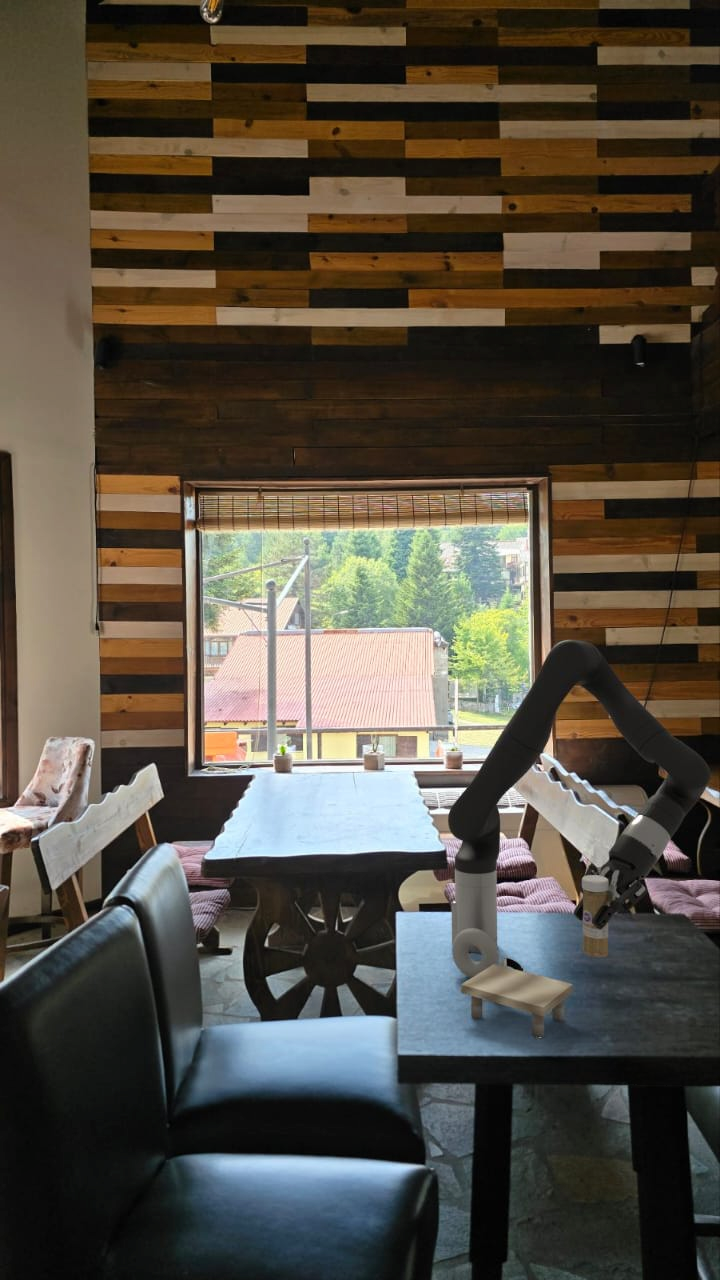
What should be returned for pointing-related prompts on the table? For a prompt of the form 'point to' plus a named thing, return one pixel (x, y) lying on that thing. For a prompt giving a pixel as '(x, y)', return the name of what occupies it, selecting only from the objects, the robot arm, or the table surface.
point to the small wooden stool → (518, 994)
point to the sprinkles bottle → (592, 902)
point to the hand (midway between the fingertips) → (586, 921)
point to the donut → (480, 941)
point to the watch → (511, 964)
